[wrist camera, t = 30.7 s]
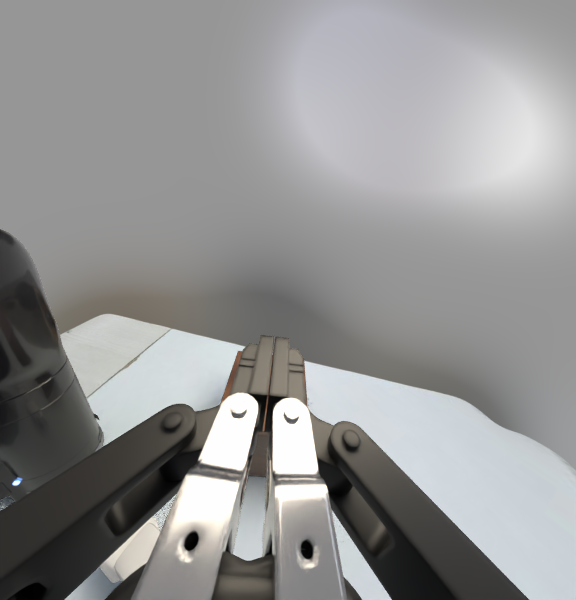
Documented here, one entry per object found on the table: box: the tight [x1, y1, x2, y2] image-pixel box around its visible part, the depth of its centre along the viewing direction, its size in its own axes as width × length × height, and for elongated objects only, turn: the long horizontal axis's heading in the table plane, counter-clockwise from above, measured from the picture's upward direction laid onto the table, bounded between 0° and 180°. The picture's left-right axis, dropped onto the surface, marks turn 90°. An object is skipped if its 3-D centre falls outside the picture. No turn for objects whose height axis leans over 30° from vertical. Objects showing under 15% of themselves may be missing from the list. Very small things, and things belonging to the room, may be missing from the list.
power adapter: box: [99, 516, 161, 583], centre depth 23 cm, size 11×5×6 cm, turn 64°
